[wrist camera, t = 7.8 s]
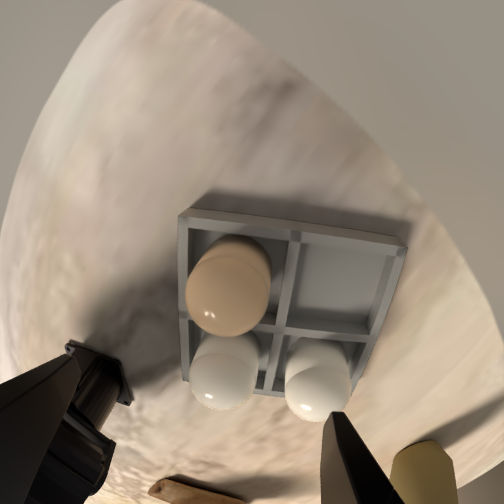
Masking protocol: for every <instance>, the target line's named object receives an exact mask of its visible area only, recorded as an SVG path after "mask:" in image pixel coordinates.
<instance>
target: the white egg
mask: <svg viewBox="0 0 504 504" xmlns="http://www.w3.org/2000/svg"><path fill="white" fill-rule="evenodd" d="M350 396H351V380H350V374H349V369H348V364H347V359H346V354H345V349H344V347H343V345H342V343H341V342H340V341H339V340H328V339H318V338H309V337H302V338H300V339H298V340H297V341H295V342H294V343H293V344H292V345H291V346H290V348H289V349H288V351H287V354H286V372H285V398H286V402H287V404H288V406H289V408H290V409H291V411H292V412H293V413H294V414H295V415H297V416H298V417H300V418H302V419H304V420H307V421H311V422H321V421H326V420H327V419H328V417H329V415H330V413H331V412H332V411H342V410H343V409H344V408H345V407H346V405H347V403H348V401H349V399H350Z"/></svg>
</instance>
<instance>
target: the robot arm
mask: <svg viewBox="0 0 504 504" xmlns="http://www.w3.org/2000/svg"><path fill="white" fill-rule="evenodd" d="M65 350H66V353H67V354H63V355H61V356H59V357H57V358H55V359H53V360H51V361H48V362H46V363H44V364H42V365H40V366H38V367H36V368H34V369H32V370H30V371H27V372H25V373H23V374H21V375H19V376H17V377H15V378H13V379H10V380H8V381H6V382H4V383H2V384H0V504H84V502H85V500H86V499H87V498H88V496H92V495H94V494H95V493H97V492H98V491H99V489H100V488H101V487H102V485H103V484H104V482H105V480H106V477H107V474H108V471H109V467H110V463H111V460H112V457H113V453H114V450H115V446H116V442H114V441H113V440H112V439H111V440H110V439H109V438H107V437H106V436H105V435H103V434H102V433H101V432H100V430H101V428H102V426H103V424H104V423H105V421H106V419H107V417H108V416H109V414H110V412H111V410H112V409H113V407H114V405H115V403H116V402H118V403H121V404H123V405H126V406H130V404H131V398H130V395H129V391H128V388H127V384H126V380H125V377H124V373H123V369H122V365H121V363H120V362H119V361H118V360H117V359H114V358H111V357H108V356H104V355H101V354H98V353H96V352H93V351H90V350H87V349H84V348H81V347H79V346H76V345H73V344H71V343H67V344H66V345H65ZM320 480H321V504H405V503H404V501H403V500H402V498H401V497H400V496H399V494H398V493H397V491H396V490H395V489H394V487H393V485H392V484H391V482H390V481H389V479H388V478H387V476H386V475H385V473H384V472H383V470H382V469H381V467H380V466H379V464H378V463H377V461H376V460H375V458H374V457H373V455H372V454H371V452H370V451H369V449H368V448H367V446H366V445H365V443H364V442H363V440H362V439H361V437H360V436H359V434H358V433H357V431H356V430H355V428H354V427H353V425H352V423H351V422H350V420H349V419H348V417H347V416H346V414H345V413H344V412H341V411H332V412H331V413H330V415H329V417H328V419H327V421H326V423H325V425H324V428H323V439H322V453H321V465H320Z"/></svg>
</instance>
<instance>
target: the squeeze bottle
mask: <svg viewBox="0 0 504 504" xmlns="http://www.w3.org/2000/svg"><path fill="white" fill-rule="evenodd" d="M389 481H390V482H391V484H392V485H393V487H394V489H395V490H396V491H397V493H398V494H399V496H400V497H401V498H402V500H403V501H404V503H405V504H458V496H457V487H456V480H455V473H454V467H453V461H452V459H451V458H450V457H449V455H448V454H447V453H446V452H445V451H444V450H443V449H442V447H441V446H440V445H439V444H438V443H437V442H436V441H424V442H420V443H417V444H414V445H412V446H410V447H408V448H406V449H404V450H402V451H401V452H400V453H398V454H397V455H396V456H395V458H394V459H393V464H392V469H391V474H390V479H389Z"/></svg>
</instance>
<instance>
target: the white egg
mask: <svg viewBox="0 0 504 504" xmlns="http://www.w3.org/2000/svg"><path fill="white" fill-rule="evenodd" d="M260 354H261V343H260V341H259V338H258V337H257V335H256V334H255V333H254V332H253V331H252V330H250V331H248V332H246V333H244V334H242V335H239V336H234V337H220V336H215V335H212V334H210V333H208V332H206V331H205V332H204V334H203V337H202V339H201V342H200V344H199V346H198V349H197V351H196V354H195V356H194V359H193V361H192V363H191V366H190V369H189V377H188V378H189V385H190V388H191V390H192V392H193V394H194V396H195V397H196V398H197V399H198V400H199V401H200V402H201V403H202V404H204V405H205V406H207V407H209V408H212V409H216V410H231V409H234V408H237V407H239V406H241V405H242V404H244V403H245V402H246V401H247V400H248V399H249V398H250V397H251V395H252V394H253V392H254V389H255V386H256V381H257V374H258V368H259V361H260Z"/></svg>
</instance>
